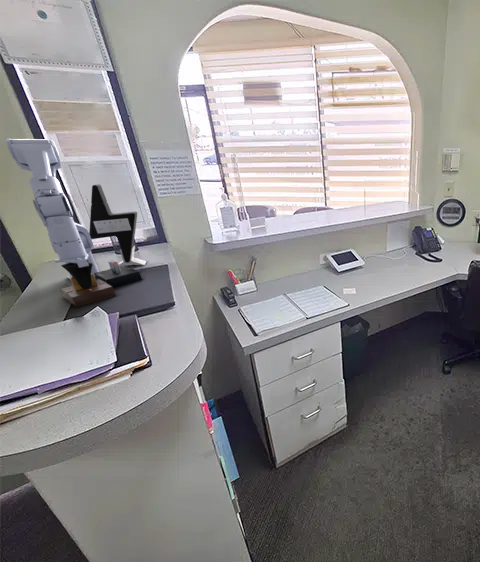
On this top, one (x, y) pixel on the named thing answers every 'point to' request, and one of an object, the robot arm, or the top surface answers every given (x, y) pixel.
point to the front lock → (77, 286)
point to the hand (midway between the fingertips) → (86, 286)
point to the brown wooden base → (88, 293)
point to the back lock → (114, 267)
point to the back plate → (119, 276)
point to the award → (113, 226)
